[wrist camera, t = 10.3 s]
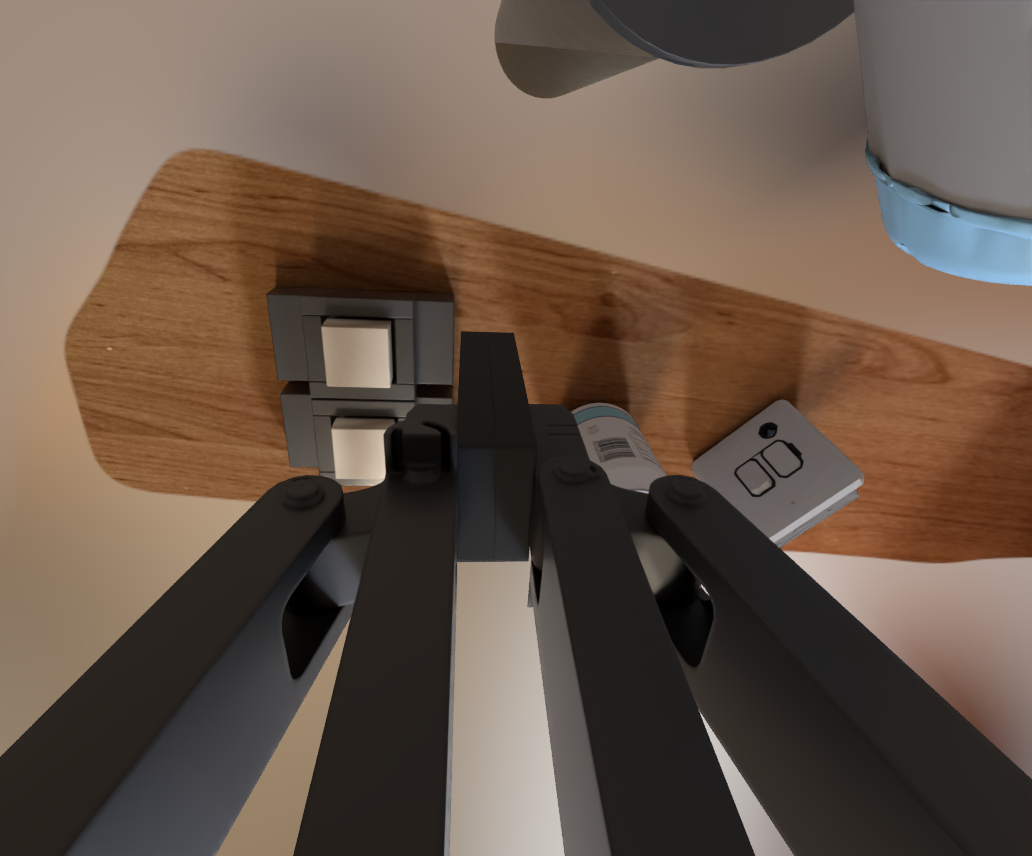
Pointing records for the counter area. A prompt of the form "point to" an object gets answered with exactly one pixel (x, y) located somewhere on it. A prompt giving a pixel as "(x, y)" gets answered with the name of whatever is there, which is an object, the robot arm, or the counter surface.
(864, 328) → the counter surface
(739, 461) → the electrical switch
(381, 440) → the e key
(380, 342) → the c key
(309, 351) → the near key block
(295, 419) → the far key block
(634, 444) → the beverage can
